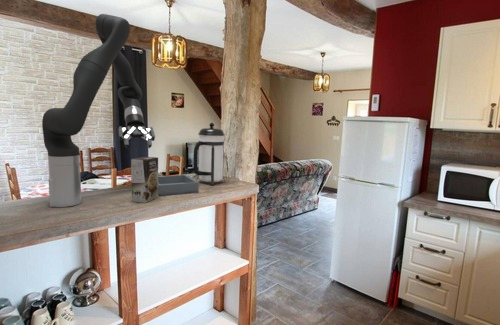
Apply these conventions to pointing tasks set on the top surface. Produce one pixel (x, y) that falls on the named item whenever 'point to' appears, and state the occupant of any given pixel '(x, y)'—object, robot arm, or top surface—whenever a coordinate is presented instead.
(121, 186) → the top surface
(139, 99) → the robot arm
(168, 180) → the tray
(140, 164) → the coffee box
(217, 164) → the coffee press
